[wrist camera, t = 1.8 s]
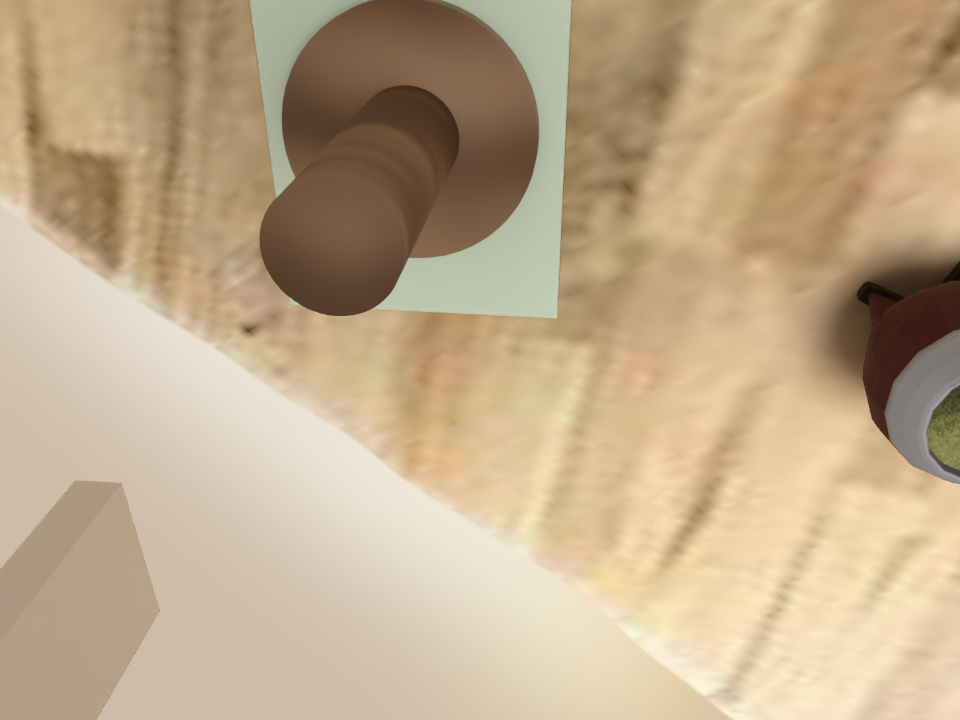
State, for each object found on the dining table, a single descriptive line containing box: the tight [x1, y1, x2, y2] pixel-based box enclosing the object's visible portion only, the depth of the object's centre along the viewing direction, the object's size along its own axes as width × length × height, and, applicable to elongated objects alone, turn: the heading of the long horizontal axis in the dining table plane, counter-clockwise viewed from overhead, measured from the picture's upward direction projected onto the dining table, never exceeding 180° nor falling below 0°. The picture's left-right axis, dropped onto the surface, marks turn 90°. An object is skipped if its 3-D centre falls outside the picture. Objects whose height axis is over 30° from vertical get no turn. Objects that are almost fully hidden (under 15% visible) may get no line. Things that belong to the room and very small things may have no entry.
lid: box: [260, 0, 539, 316], centre depth 28 cm, size 10×10×12 cm
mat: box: [249, 0, 572, 318], centre depth 34 cm, size 16×12×1 cm
